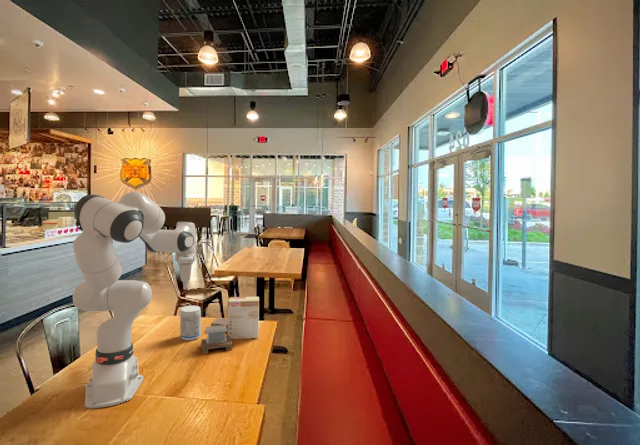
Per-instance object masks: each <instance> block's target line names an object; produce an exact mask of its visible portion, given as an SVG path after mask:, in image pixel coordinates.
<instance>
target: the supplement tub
mask: <svg viewBox="0 0 640 445" xmlns="http://www.w3.org/2000/svg"><path fill="white" fill-rule="evenodd" d="M179 312H180V314H179V320H180V321H179V322H180V332H179V333H180V335H179V336H180V339H182V340H183V341H194V339H195V340H197V339H199V338H200V337H201V334H202V328H201V327H202V322H201V321H202V319H201V318H202V311H201V306H199V305H186V306H183V307H181V308H180V311H179Z"/></svg>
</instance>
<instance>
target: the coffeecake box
mask: <svg viewBox="0 0 640 445" xmlns="http://www.w3.org/2000/svg"><path fill="white" fill-rule="evenodd" d="M227 319H228V332H227V336H230V338H231V340H248V339H249V340H251V338H255V339H259V331H260V330H259V329H260V324H259V323H260V322H259V320H260V297H259V296H231V297H229V298H228V300H227Z"/></svg>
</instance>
